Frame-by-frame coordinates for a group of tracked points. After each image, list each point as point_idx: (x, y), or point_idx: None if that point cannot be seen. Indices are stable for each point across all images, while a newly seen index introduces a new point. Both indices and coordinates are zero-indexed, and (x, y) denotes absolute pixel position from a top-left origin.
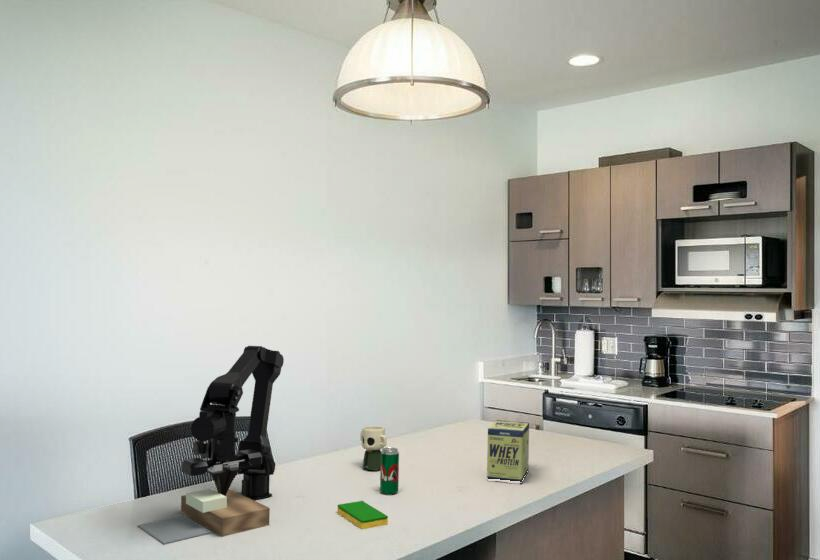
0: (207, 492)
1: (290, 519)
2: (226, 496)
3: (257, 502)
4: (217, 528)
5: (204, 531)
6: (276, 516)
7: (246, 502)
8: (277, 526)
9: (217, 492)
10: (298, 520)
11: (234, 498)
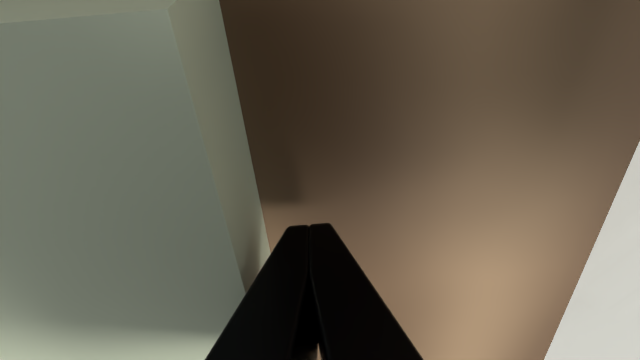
0: (93, 227)
1: (615, 311)
2: (479, 11)
3: (552, 331)
4: None
5: None
6: (614, 248)
7: (491, 298)
8: None
9: (243, 289)
10: (625, 334)
11: (496, 150)
